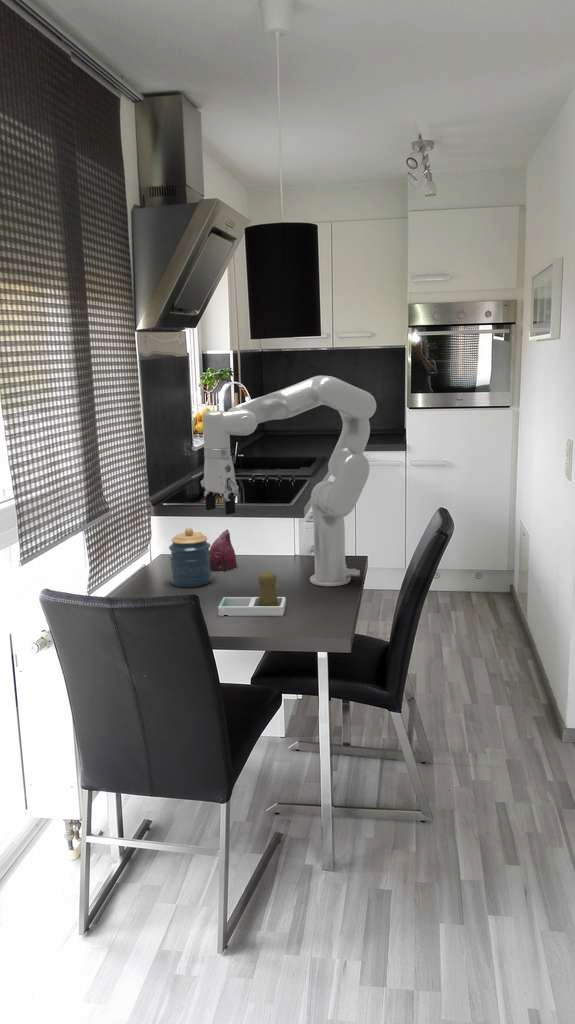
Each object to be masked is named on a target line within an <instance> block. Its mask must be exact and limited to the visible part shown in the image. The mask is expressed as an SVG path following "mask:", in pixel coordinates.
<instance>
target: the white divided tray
mask: <svg viewBox="0 0 575 1024" xmlns="http://www.w3.org/2000/svg"><path fill="white" fill-rule="evenodd" d="M277 600H278V606H258V603H259V596H248V597H247V596H237V597H236V596H235V597H234V596H226V597H225V596H224V597H222V599H221V600H220V603H219V605H218V606H217V609H218V610H217V611H218V614H217V615H219V616H218V617H225V616H224V615H228V616H227V617H262V616H263V617H264V616H265V617H267V616H268V617H282V616H284V614H285V609H286V607H287V599H286V597H285V596H277Z"/></svg>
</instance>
